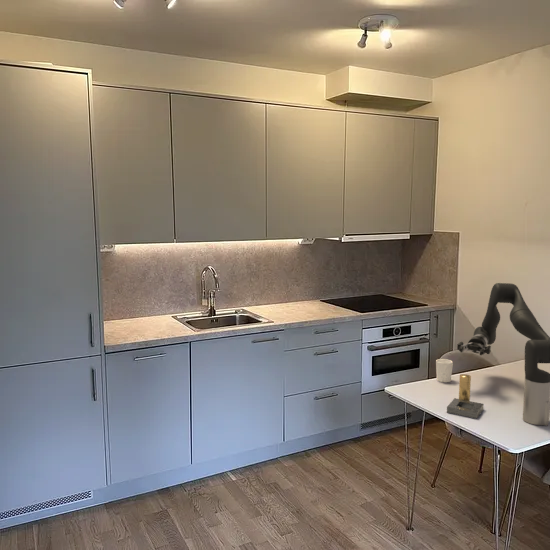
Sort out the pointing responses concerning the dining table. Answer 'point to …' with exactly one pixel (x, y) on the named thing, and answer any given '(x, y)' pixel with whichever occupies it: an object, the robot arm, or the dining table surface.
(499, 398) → the dining table surface
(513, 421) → the dining table surface
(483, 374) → the dining table surface
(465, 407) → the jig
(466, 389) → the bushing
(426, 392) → the dining table surface
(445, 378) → the white cup
